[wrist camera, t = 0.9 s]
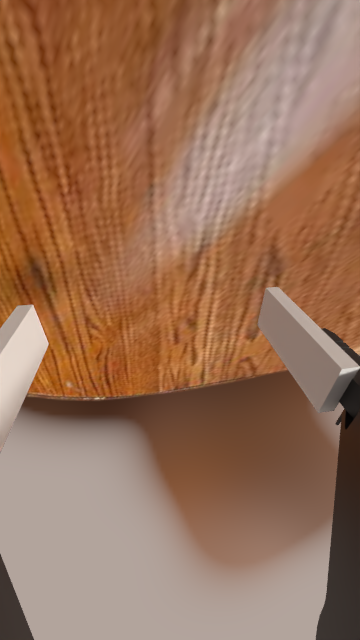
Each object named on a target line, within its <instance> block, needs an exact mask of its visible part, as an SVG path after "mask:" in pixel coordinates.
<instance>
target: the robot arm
mask: <svg viewBox="0 0 360 640" xmlns="http://www.w3.org/2000/svg"><path fill="white" fill-rule="evenodd" d="M258 327H259V328H260V329H261V331H262V332H263V334H264V335H265V337H266V338H267V340H268V341H269V342H270V344H271V345H272V347H273V348H274V350H275V351H276V353H277V354H278V356H279V357H280V358H281V360H282V361H283V363H284V364H285V366H286V367H287V369H288V370H289V371H290V373H291V374H292V376H293V377H294V379H295V380H296V382H297V383H298V384H299V386H300V387H301V389H302V390H303V392H304V393H305V395H306V396H307V397H308V399H309V400H310V402H311V403H312V405H313V406H314V408H315V409H316V410H317V412H318V413H321V412H328V411H334V410H335V408H336V406H337V405H338V403H339V402H340V403H341V404H342V406H343V407H344V408H345V409H344V410H343V412H342V414H341V415H340V417H339V418H338V420H337V422H336V425H339V423H340V422H341V430H340V442H339V454H338V466H337V477H336V490H335V501H334V512H333V513H334V514H333V524H332V536H331V547H330V560H329V571H328V583H327V593H326V600H325V604H324V607H323V609H322V612H321V614H320V618H319V621H318V626H317V634H316V640H360V356H359V355H358V354H357V353H355V352H354V351H353V350H352V349H351V348H349V346H348V345H347V344H346V343H343V340H341V339H340V338H339V337H338V336H337V335H336V334H335V333H333V332H331V331H329V330H327V329H326V328H323V329H321V328H320V327H319V326H318V325H317V324H316V323H314V322H313V321H312V320H311V319H310V318H309V317H308V316H307V315H306V314H305V313H304V312H303V311H302V310H301V309H300V308H299V307H298V306H297V305H296V304H295V303H294V302H293V301H292V300H291V299H290V298H289V297H288V296H287V295H286V294H285V293H284V292H283V291H282V290H280V289H279V288H278V287H272V288H266V290H265V294H264V299H263V303H262V307H261V312H260V316H259V321H258ZM48 345H49V343H48V341H47V338H46V336H45V333H44V331H43V328H42V326H41V323H40V321H39V319H38V316H37V314H36V311H35V309H34V306H33V305H22V306H17V307H16V308H15V310H14V311H13V312H12V314H11V315H10V316H9V318H8V319H7V320H6V322H5V323H4V324H3V326H2V327H1V328H0V452H1V450H2V448H3V446H4V444H5V441H6V439H7V437H8V435H9V432H10V430H11V428H12V425H13V423H14V421H15V419H16V416H17V414H18V412H19V410H20V407H21V405H22V403H23V401H24V399H25V396H26V394H27V392H28V390H29V387H30V385H31V383H32V381H33V379H34V376H35V374H36V372H37V370H38V367H39V365H40V363H41V361H42V358H43V356H44V354H45V352H46V349H47V347H48ZM0 640H34V639H33V636H32V633H31V631H30V628H29V626H28V623H27V621H26V618H25V616H24V613H23V610H22V608H21V605H20V603H19V600H18V598H17V595H16V593H15V590H14V588H13V585H12V582H11V580H10V577H9V575H8V572H7V570H6V567H5V565H4V562H3V560H2V557H1V554H0Z"/></svg>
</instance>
